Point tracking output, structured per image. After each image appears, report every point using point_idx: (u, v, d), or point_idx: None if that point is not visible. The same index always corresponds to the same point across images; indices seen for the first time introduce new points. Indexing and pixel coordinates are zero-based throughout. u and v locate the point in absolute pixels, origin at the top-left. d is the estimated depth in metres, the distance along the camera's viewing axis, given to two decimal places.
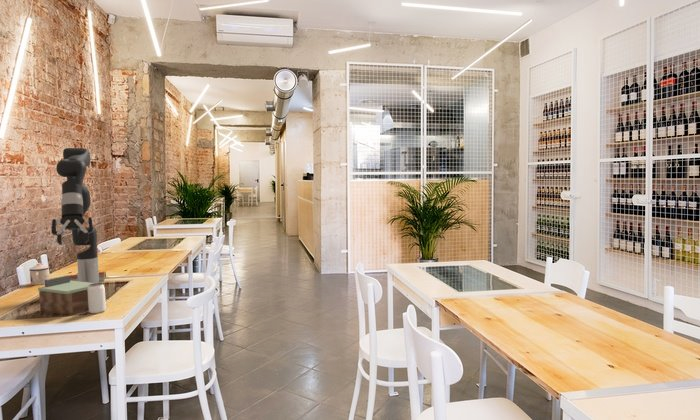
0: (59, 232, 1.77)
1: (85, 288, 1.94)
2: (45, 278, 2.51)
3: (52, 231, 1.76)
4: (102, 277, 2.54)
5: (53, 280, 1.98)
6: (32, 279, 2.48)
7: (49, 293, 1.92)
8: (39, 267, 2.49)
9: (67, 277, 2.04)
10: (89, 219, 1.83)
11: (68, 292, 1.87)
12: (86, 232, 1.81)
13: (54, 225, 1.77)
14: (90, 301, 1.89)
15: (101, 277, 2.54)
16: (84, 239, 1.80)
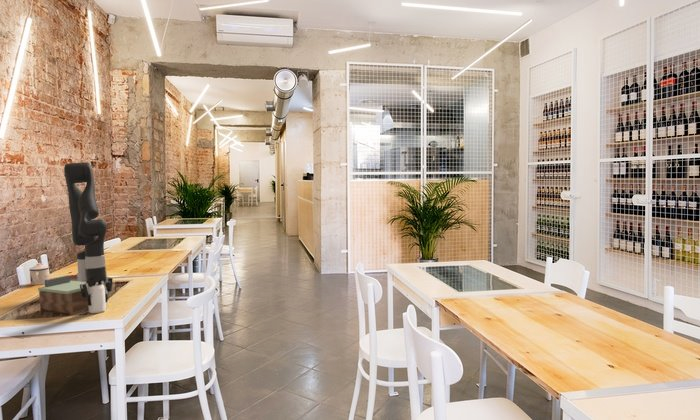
0: None
1: None
2: (45, 278, 2.51)
3: (87, 296, 1.87)
4: None
5: (53, 280, 1.98)
6: (32, 279, 2.48)
7: (49, 293, 1.92)
8: (39, 267, 2.49)
9: (67, 277, 2.04)
10: (110, 280, 1.97)
11: (68, 292, 1.87)
12: (106, 293, 1.95)
13: (86, 290, 1.87)
14: None
15: None
16: (105, 300, 1.95)
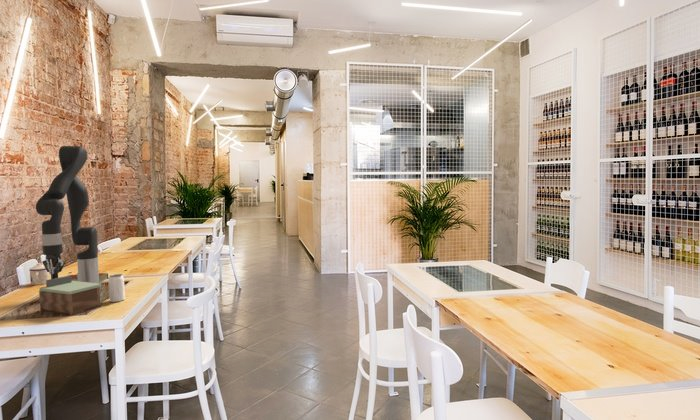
0: (50, 271, 2.00)
1: (87, 288, 1.93)
2: (45, 278, 2.51)
3: (47, 270, 2.01)
4: None
5: (54, 280, 1.97)
6: (32, 279, 2.48)
7: (49, 293, 1.92)
8: (39, 267, 2.49)
9: (68, 277, 2.03)
10: (58, 263, 1.97)
11: (70, 292, 1.86)
12: (53, 273, 1.99)
13: (45, 265, 2.01)
14: (111, 291, 2.07)
15: None
16: None
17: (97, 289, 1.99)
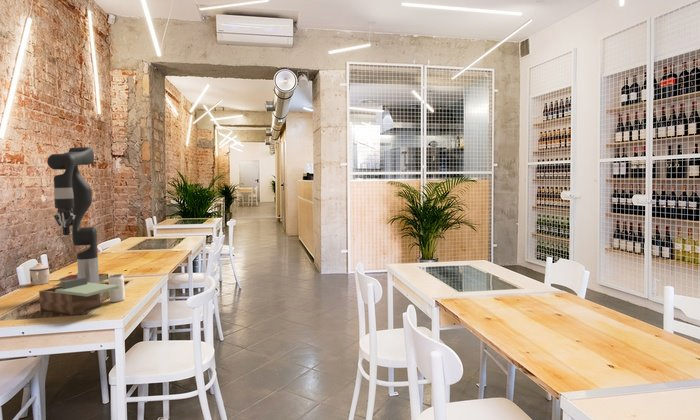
0: (62, 225, 2.04)
1: (104, 290, 1.89)
2: (45, 278, 2.51)
3: (59, 224, 2.05)
4: None
5: (70, 282, 1.93)
6: (32, 279, 2.48)
7: (49, 293, 1.92)
8: (39, 267, 2.49)
9: (84, 279, 1.99)
10: (70, 216, 2.01)
11: (87, 294, 1.82)
12: (64, 226, 2.03)
13: (57, 219, 2.05)
14: (111, 291, 2.07)
15: None
16: (64, 233, 2.04)
17: None
